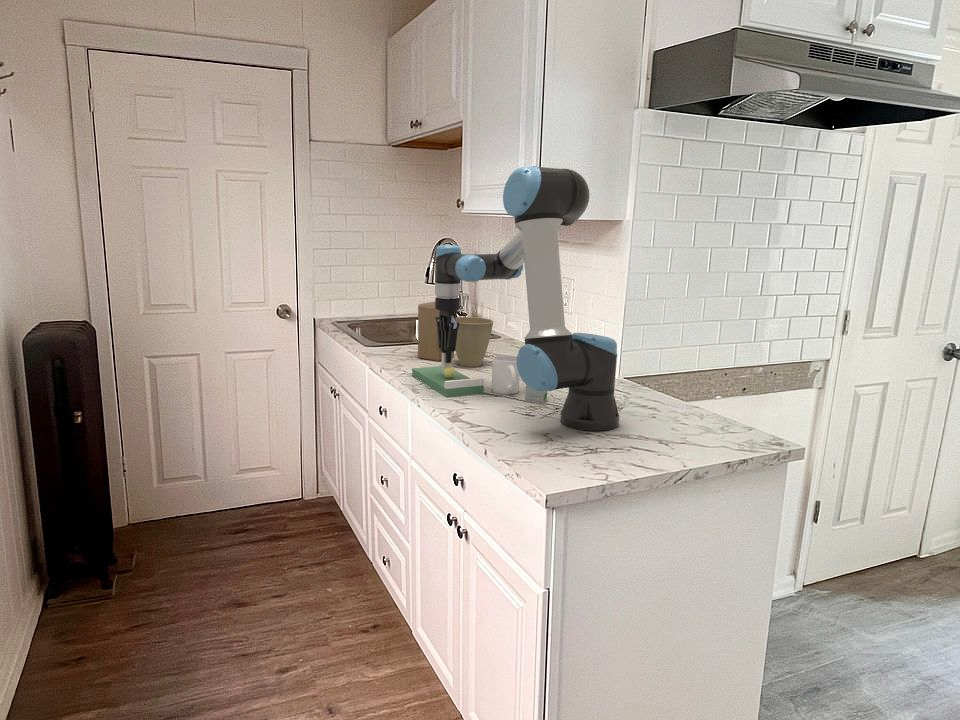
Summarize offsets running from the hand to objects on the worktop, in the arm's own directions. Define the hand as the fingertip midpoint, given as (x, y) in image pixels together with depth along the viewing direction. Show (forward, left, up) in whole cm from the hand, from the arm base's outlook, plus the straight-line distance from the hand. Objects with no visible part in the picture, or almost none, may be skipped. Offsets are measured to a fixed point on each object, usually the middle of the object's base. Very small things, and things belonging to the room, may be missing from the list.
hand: (446, 372), depth 216 cm
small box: (-26, -17, -4) cm, 31 cm away
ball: (-3, 0, 0) cm, 3 cm away
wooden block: (+37, -12, -4) cm, 39 cm away
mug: (-16, -13, -4) cm, 21 cm away
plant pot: (+22, -19, -4) cm, 29 cm away
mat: (0, 0, -4) cm, 4 cm away
